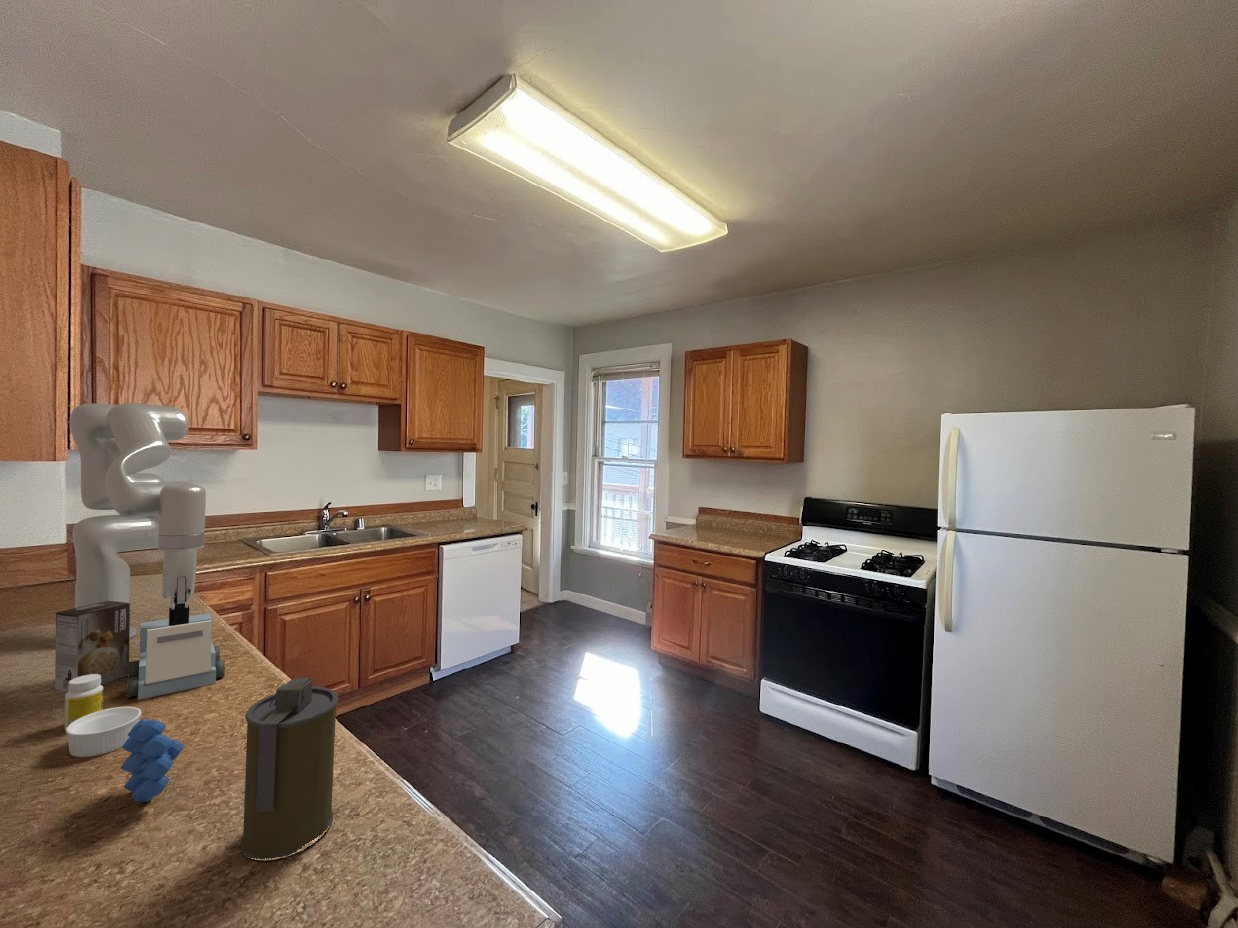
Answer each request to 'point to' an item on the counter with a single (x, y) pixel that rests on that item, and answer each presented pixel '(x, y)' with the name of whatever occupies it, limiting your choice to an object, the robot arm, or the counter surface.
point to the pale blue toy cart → (139, 676)
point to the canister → (288, 769)
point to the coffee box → (92, 642)
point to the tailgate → (178, 652)
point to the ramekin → (101, 731)
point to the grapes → (149, 759)
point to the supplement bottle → (83, 697)
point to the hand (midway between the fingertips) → (178, 625)
